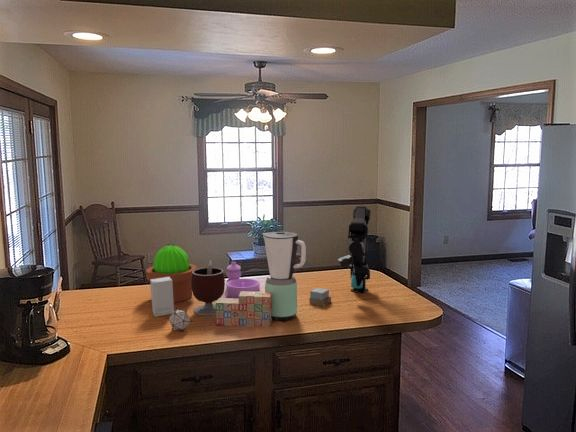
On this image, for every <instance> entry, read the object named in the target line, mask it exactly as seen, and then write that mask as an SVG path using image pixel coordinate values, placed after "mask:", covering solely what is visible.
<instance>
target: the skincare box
mask: <svg viewBox="0 0 576 432" xmlns="http://www.w3.org/2000/svg"><path fill="white" fill-rule="evenodd" d="M150 295H151V297H150V298H151V311H152V314H153V316H154V317H161V316H162V317H163V316H168V315H172V314H173V313H174V312H175V304H174V303H175V302H174V301H173V284H172V279H171V278H170V277H163V278H157V279H150Z"/></svg>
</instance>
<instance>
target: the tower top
mask: <svg viewBox="0 0 576 432" xmlns="http://www.w3.org/2000/svg"><path fill="white" fill-rule="evenodd" d="M329 296H330V289H327V288H326V289H325V288H321V287H316V288H314V289H312V290H310V291H309V299H310V298H315V299H320V300H323V299H325V298H327V297H329Z"/></svg>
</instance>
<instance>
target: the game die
mask: <svg viewBox="0 0 576 432" xmlns="http://www.w3.org/2000/svg"><path fill="white" fill-rule="evenodd" d="M166 319H168V320H169V322H170V325H171V327H172V328H171V330H172V331H173V330H175V329H176V330H178V331H181V332H182V333H183V332H184V330H185V328H186V327H187V326H188V325H189V324H190V323H193V320H191V319H190V317H189V315H188V309H185V310H181V309H178V308H177V307H176V308H175V310H174V313H173V314H170V316H169V317H168V316H167V317H166Z"/></svg>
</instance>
